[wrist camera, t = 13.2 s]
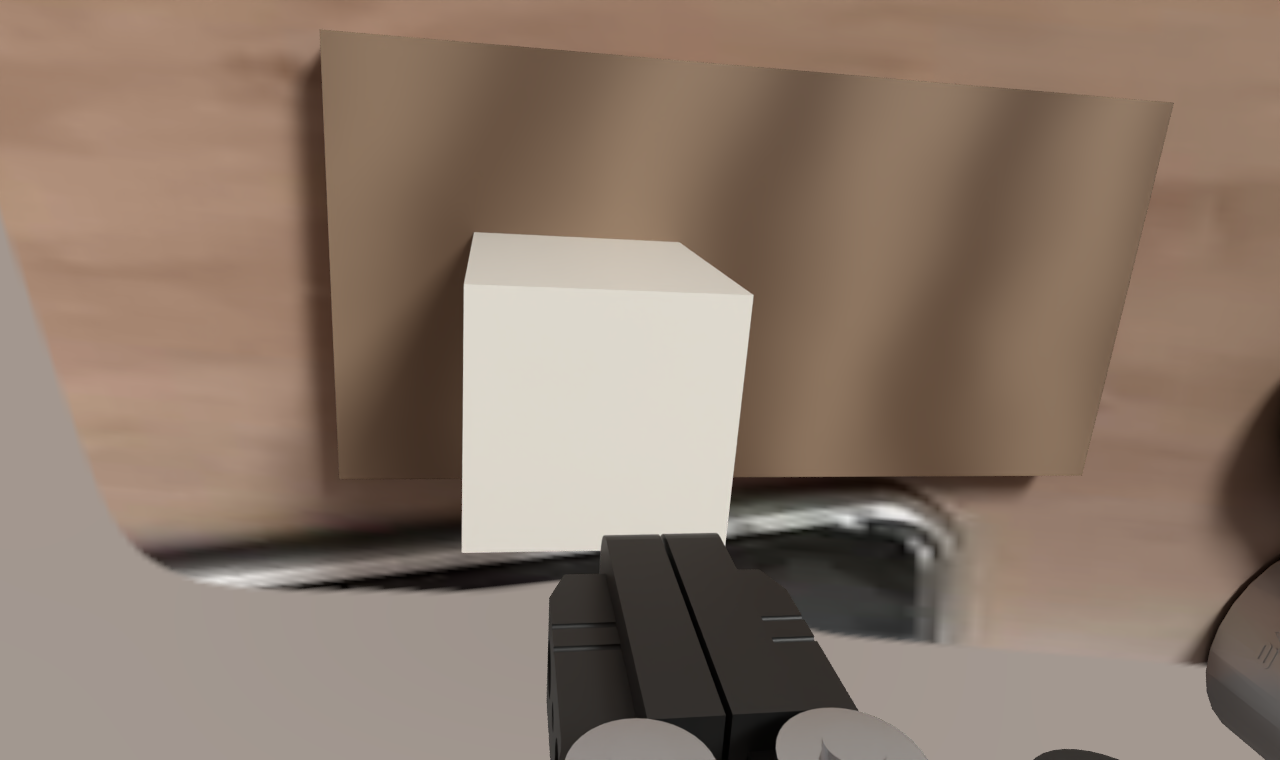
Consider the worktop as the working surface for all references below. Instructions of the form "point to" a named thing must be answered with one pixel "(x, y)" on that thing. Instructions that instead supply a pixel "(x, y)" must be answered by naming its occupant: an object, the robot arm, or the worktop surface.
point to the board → (746, 242)
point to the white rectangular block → (597, 391)
